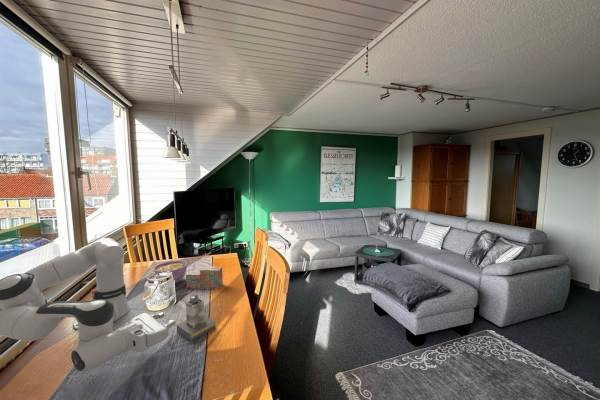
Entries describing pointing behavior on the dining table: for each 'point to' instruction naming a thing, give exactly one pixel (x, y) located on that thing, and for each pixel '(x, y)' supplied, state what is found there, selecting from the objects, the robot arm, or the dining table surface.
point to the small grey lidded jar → (195, 314)
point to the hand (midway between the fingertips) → (168, 318)
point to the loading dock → (195, 329)
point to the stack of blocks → (205, 278)
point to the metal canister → (194, 299)
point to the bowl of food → (172, 269)
